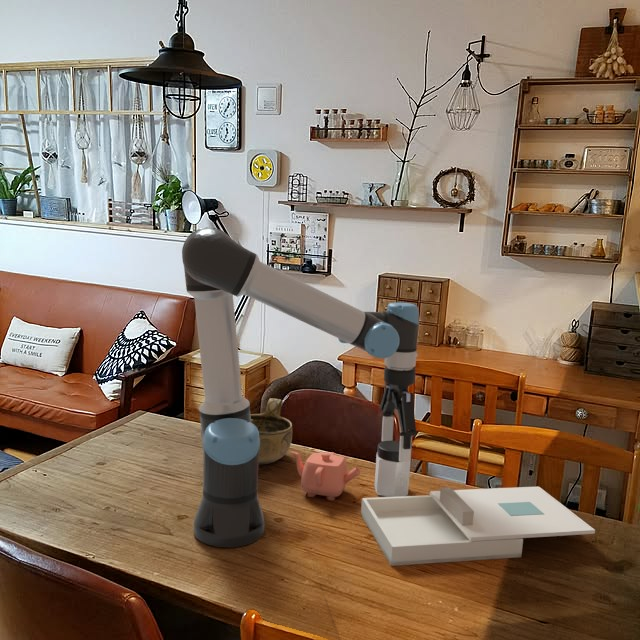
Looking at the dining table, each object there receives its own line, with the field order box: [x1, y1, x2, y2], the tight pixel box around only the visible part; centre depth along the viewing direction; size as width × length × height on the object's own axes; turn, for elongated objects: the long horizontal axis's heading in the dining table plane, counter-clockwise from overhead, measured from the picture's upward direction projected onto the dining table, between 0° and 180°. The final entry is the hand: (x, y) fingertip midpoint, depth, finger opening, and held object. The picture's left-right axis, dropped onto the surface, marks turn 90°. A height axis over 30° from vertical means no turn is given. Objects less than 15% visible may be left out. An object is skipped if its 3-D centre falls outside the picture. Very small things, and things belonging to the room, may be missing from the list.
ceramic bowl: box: [250, 397, 293, 466], centre depth 175 cm, size 22×17×15 cm
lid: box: [429, 486, 596, 541], centre depth 142 cm, size 28×22×4 cm
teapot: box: [289, 450, 361, 501], centre depth 157 cm, size 14×12×10 cm
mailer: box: [360, 494, 524, 567], centre depth 139 cm, size 28×22×4 cm
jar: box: [374, 440, 411, 497], centre depth 159 cm, size 9×8×12 cm
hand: (395, 450), depth 159 cm, fingers open, 13 cm apart
